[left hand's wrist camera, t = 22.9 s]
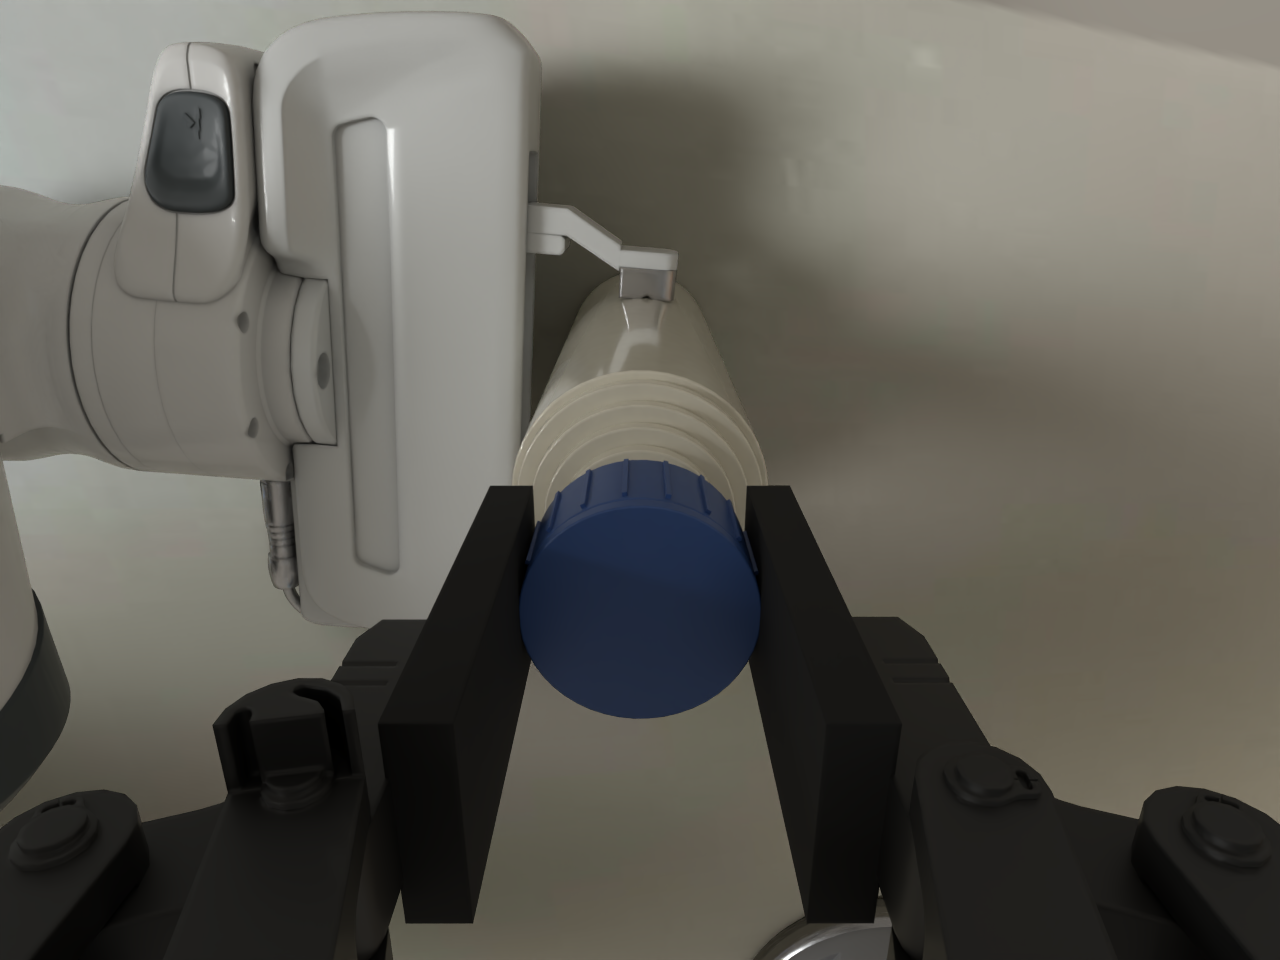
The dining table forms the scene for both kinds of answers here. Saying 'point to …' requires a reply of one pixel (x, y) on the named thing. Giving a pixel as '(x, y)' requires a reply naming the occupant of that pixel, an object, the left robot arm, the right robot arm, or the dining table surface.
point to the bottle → (639, 400)
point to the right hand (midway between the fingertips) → (666, 378)
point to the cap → (640, 591)
